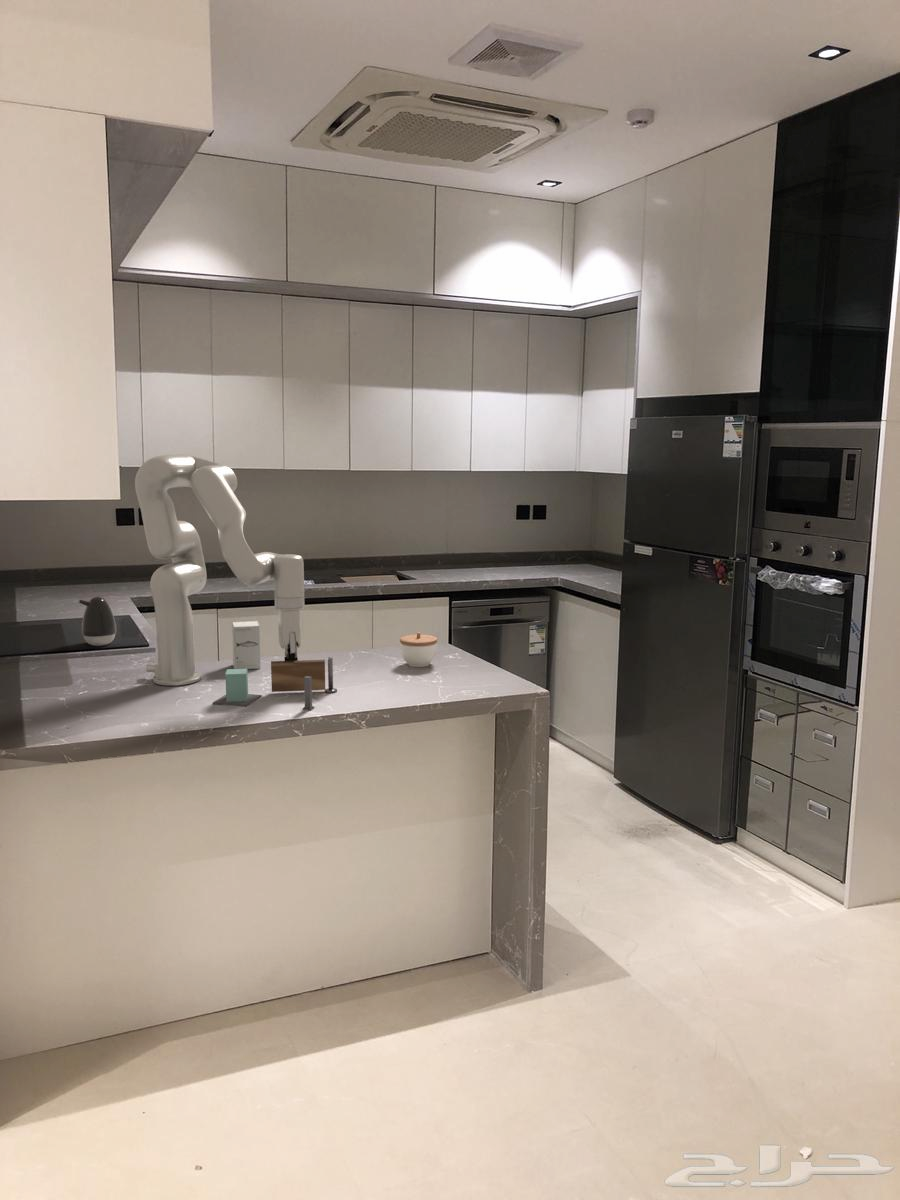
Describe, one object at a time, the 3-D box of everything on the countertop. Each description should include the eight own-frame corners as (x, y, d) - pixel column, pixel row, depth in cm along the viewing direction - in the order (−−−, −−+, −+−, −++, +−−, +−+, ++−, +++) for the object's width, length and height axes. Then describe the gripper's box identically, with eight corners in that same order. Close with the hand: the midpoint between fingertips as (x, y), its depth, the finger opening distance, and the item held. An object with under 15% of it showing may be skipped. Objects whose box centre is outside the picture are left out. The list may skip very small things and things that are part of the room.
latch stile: (302, 709, 231) (301, 677, 230) (305, 707, 233) (305, 675, 232) (311, 710, 231) (310, 678, 229) (314, 707, 233) (313, 676, 231)
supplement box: (234, 670, 268) (232, 626, 266) (233, 664, 275) (231, 621, 273) (261, 669, 270) (259, 625, 268) (259, 663, 277) (257, 620, 275)
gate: (272, 689, 246) (271, 661, 245) (325, 687, 248) (324, 659, 247) (271, 692, 244) (270, 663, 242) (325, 689, 246) (324, 661, 245)
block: (226, 701, 236) (225, 674, 235) (228, 696, 241) (227, 669, 240) (246, 701, 237) (246, 673, 236) (248, 695, 242) (247, 668, 241)
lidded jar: (395, 667, 272) (395, 635, 270) (406, 659, 282) (405, 628, 280) (431, 670, 269) (431, 637, 268) (441, 661, 280) (441, 630, 278)
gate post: (322, 692, 246) (322, 658, 244) (327, 689, 249) (326, 655, 248) (334, 693, 245) (333, 659, 244) (338, 690, 248) (338, 656, 247)
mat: (212, 703, 236) (212, 702, 236) (228, 694, 244) (228, 692, 244) (246, 706, 234) (246, 704, 234) (261, 696, 242) (261, 694, 242)
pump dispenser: (83, 641, 303) (79, 594, 300) (117, 639, 306) (114, 593, 304) (81, 648, 294) (77, 600, 291) (116, 646, 297) (113, 598, 294)
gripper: (272, 598, 251) (274, 666, 254) (277, 608, 237) (279, 680, 240) (300, 597, 253) (302, 664, 256) (308, 607, 239) (309, 678, 242)
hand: (291, 671), depth 248 cm, fingers closed
